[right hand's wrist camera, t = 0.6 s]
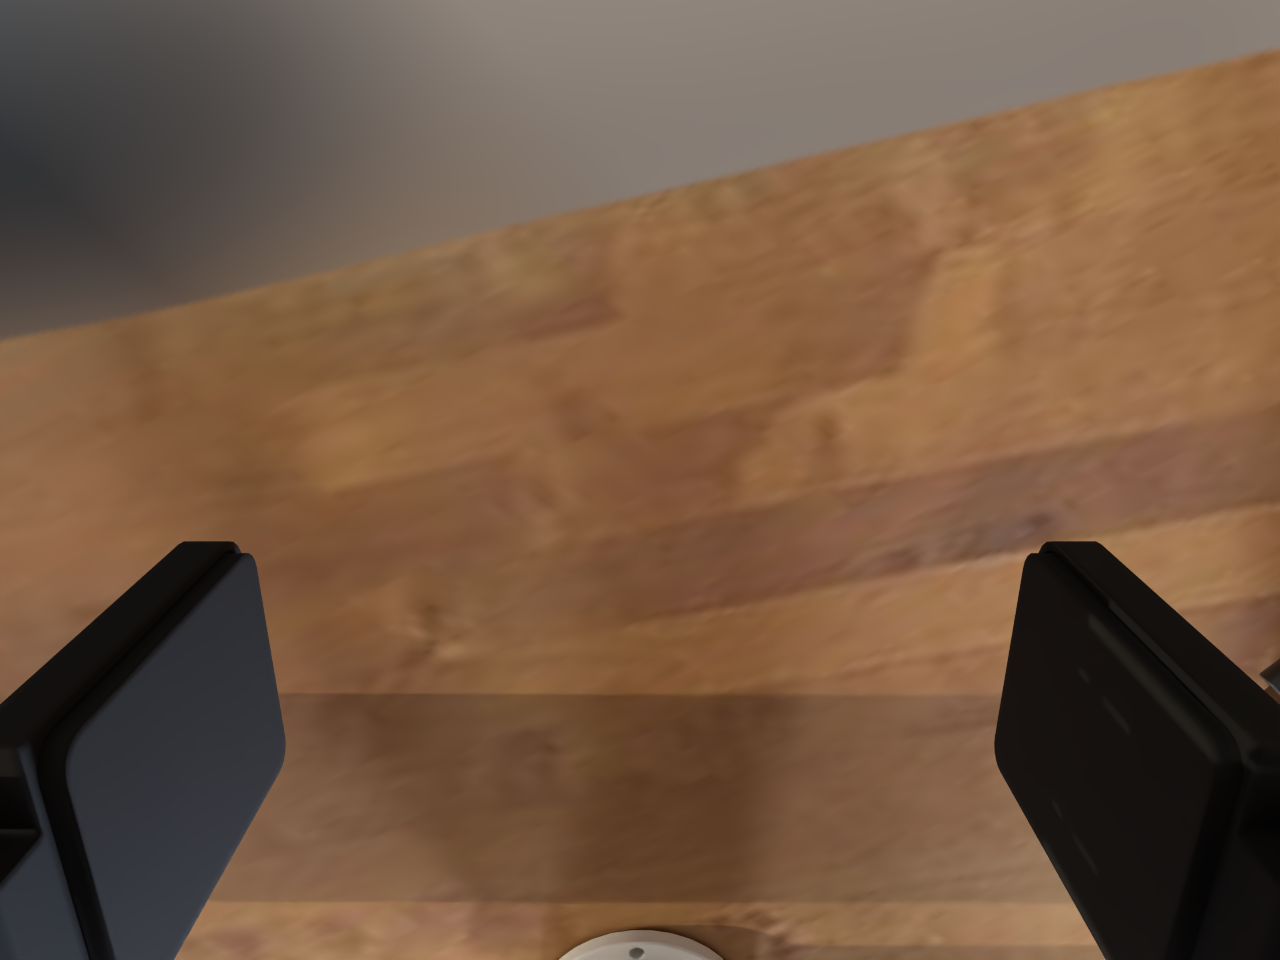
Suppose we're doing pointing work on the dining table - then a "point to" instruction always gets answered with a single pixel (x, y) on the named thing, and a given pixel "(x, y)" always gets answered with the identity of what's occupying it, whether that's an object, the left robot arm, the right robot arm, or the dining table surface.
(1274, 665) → the drawer
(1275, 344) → the dining table surface
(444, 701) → the dining table surface
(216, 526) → the dining table surface
